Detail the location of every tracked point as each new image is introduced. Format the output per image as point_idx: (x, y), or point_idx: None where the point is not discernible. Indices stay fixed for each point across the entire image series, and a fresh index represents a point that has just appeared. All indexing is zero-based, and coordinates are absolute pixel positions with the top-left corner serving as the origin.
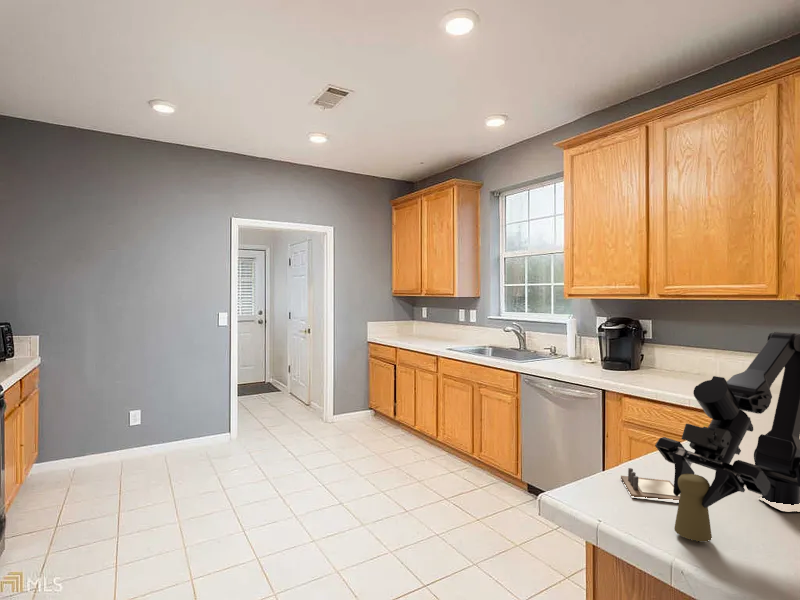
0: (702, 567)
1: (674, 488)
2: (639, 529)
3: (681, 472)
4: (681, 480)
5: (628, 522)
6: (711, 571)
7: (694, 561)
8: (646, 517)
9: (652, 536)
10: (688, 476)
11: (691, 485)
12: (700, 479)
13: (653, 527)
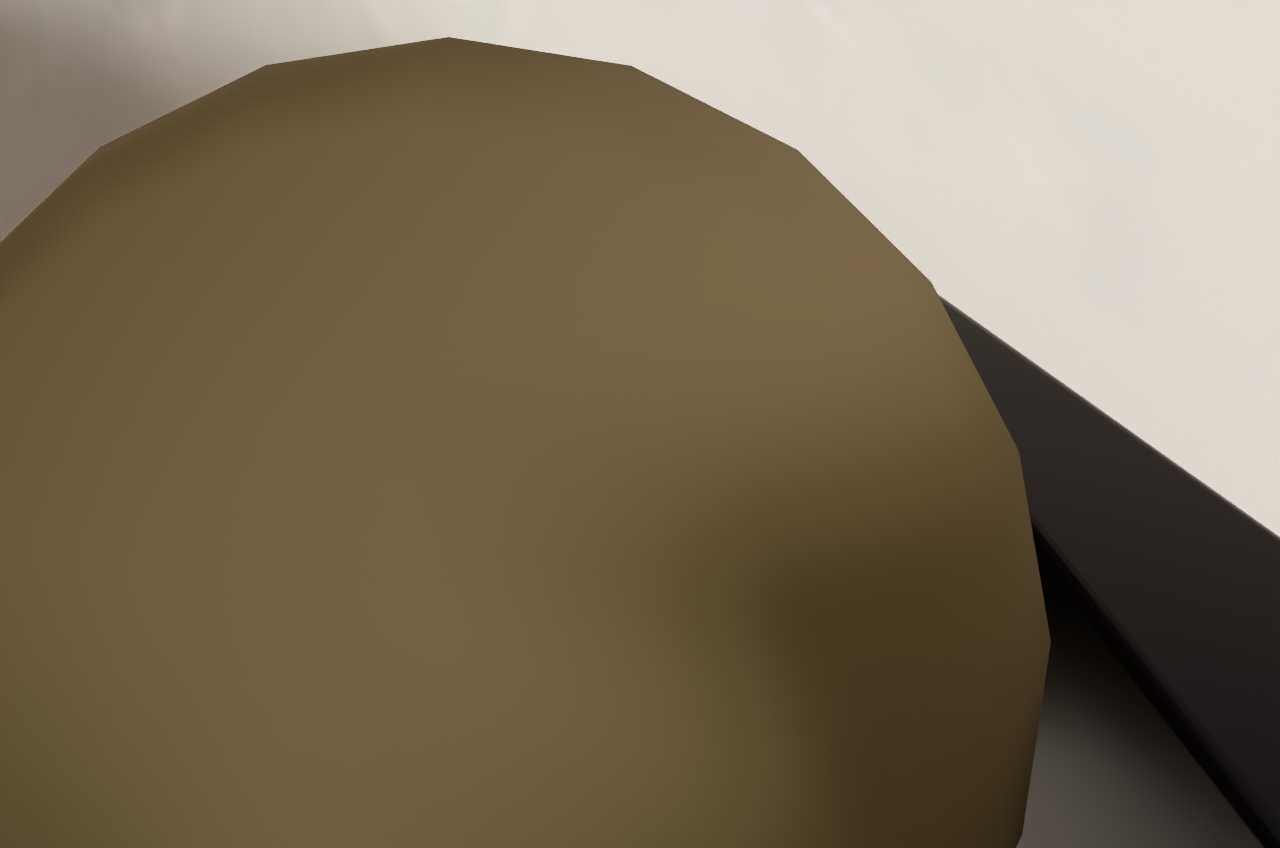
0: (95, 28)
1: (956, 324)
2: (1027, 39)
3: (1211, 778)
4: (628, 79)
5: (1233, 51)
6: (3, 54)
7: (215, 52)
8: (1269, 437)
9: (825, 55)
10: (488, 368)
11: (168, 114)
12: (3, 659)
13: (1007, 280)
